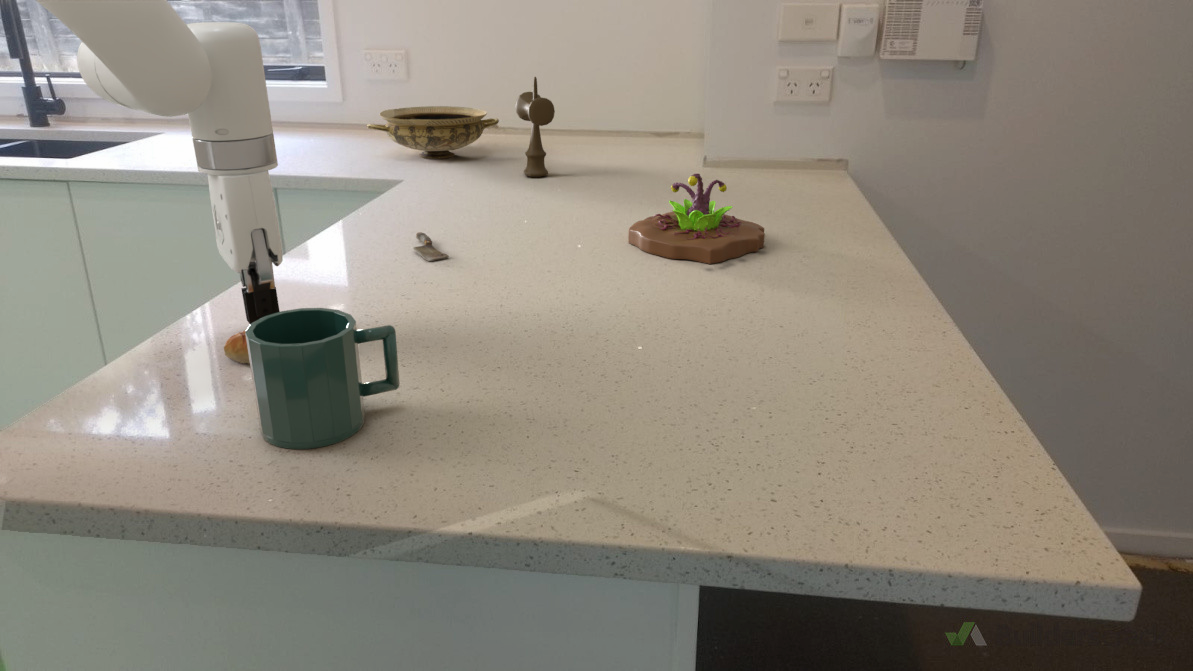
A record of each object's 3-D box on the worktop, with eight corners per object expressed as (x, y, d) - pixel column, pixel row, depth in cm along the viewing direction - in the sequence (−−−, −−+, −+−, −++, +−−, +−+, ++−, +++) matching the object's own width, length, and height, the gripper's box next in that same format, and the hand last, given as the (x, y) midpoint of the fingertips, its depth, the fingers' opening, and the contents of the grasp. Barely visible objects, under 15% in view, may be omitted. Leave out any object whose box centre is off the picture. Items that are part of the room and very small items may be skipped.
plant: (606, 245, 129) (608, 172, 125) (672, 220, 144) (675, 154, 139) (722, 270, 118) (728, 192, 114) (780, 241, 133) (787, 170, 129)
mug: (271, 458, 69) (255, 353, 66) (253, 414, 77) (238, 317, 73) (416, 425, 75) (409, 327, 72) (387, 387, 82) (379, 296, 79)
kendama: (542, 170, 181) (542, 74, 173) (556, 179, 172) (556, 78, 165) (515, 172, 179) (514, 74, 171) (528, 181, 170) (527, 79, 163)
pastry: (228, 373, 84) (222, 338, 83) (223, 349, 90) (218, 316, 89) (324, 358, 88) (320, 324, 87) (314, 336, 94) (310, 304, 92)
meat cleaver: (413, 263, 119) (449, 263, 120) (413, 256, 119) (449, 255, 120) (411, 238, 129) (444, 238, 131) (411, 231, 129) (444, 230, 130)
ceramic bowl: (488, 144, 209) (486, 103, 205) (512, 162, 189) (511, 116, 185) (364, 149, 200) (360, 106, 196) (375, 169, 179) (371, 121, 175)
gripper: (183, 145, 88) (214, 307, 95) (210, 171, 77) (242, 354, 84) (258, 138, 92) (282, 295, 99) (294, 162, 80) (318, 338, 88)
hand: (264, 321), depth 91 cm, fingers closed
